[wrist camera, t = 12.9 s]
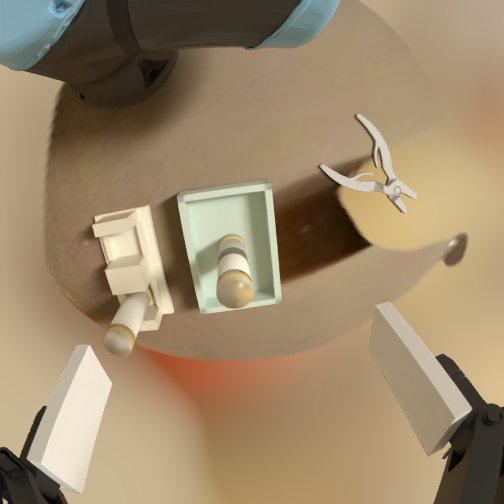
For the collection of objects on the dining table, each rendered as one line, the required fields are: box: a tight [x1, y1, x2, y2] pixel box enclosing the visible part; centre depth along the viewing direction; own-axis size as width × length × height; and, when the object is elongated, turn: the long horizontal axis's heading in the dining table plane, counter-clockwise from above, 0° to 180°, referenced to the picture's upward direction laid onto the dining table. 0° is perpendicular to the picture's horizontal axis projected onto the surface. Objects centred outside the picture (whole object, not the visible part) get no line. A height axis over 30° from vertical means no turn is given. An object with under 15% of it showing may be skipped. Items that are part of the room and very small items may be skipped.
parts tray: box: [177, 179, 282, 314], centre depth 37 cm, size 16×11×4 cm
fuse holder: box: [92, 205, 174, 331], centre depth 36 cm, size 16×8×5 cm, turn 7°
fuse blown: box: [216, 234, 254, 309], centre depth 33 cm, size 4×4×12 cm
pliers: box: [320, 114, 417, 214], centre depth 37 cm, size 10×2×15 cm
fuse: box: [103, 286, 153, 356], centre depth 34 cm, size 4×4×12 cm
